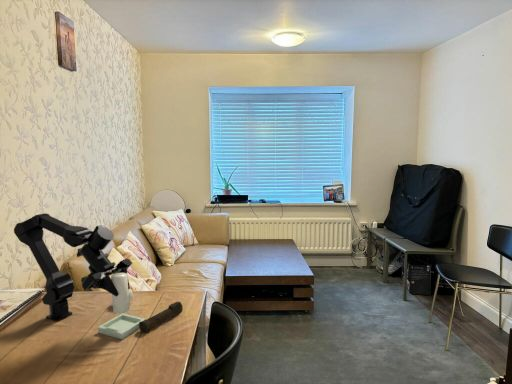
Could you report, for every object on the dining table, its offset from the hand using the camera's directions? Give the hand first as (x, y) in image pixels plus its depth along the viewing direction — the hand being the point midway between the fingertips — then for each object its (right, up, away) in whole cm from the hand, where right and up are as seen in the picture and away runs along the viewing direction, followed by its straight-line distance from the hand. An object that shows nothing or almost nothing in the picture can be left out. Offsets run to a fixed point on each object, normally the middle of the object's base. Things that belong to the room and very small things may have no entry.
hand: (123, 292), depth 119 cm
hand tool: (+11, -13, +7) cm, 19 cm away
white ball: (-8, -11, +22) cm, 26 cm away
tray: (-1, -13, +2) cm, 13 cm away
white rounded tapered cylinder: (-1, -7, +1) cm, 7 cm away
